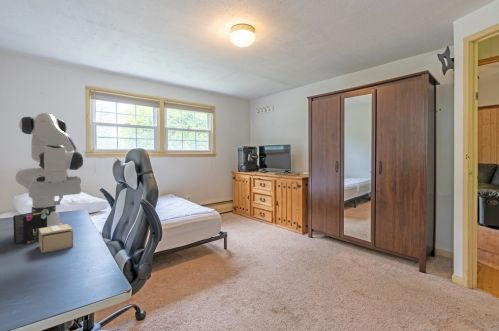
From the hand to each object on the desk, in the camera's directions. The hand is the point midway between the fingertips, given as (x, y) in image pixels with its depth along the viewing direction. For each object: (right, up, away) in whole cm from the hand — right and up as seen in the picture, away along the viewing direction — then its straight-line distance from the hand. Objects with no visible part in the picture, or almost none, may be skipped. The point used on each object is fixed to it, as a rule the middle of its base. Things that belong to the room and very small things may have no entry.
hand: (56, 204), depth 120 cm
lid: (-3, -13, +3) cm, 14 cm away
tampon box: (-24, -22, +13) cm, 35 cm away
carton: (-3, -22, +3) cm, 22 cm away
